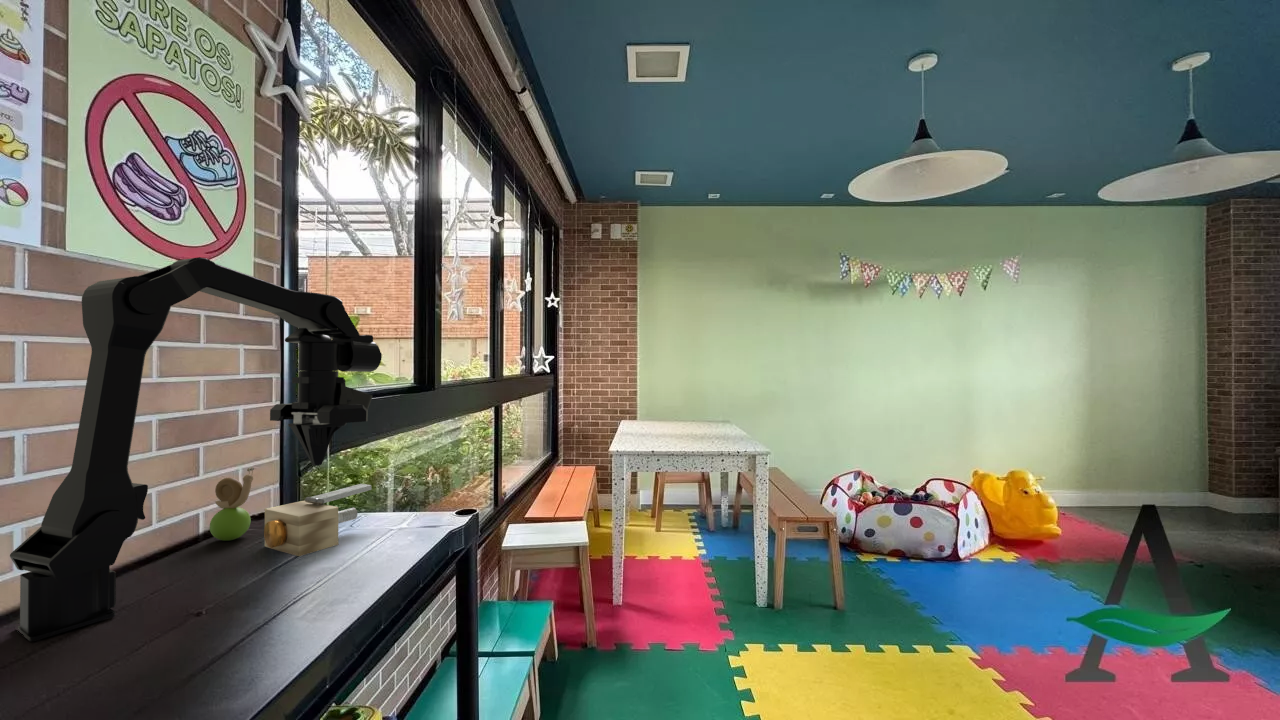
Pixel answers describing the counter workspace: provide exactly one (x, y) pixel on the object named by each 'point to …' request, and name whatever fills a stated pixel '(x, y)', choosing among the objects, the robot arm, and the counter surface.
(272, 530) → the pin
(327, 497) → the bar
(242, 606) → the counter surface
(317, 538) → the block
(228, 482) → the snail figurine
